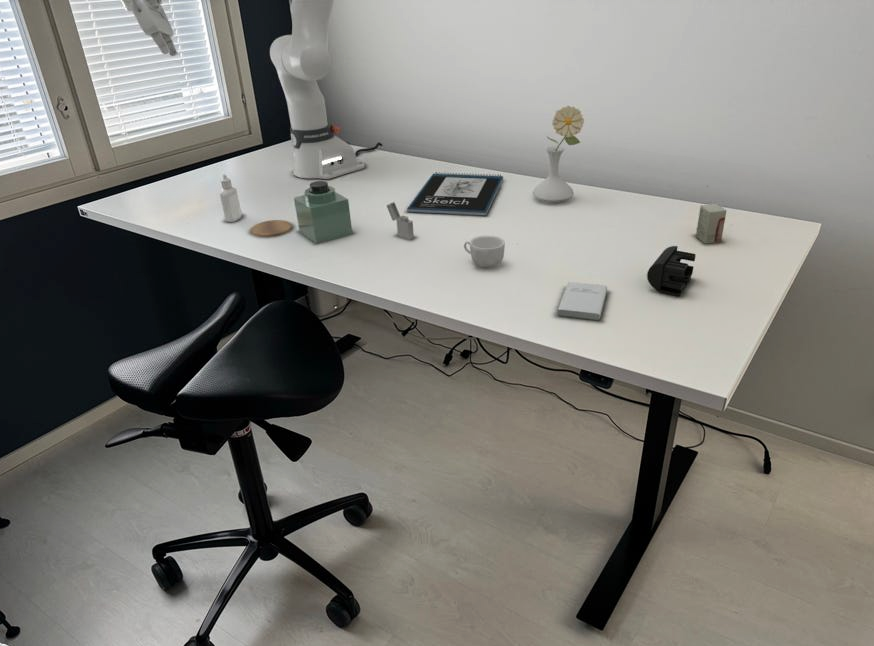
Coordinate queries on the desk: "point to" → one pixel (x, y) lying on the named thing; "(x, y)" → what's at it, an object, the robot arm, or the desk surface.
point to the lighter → (401, 222)
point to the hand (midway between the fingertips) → (171, 54)
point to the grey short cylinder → (319, 187)
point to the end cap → (671, 271)
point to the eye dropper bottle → (230, 201)
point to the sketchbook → (457, 194)
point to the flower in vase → (553, 185)
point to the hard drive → (582, 301)
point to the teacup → (486, 251)
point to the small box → (711, 223)
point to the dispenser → (323, 215)
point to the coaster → (271, 228)
